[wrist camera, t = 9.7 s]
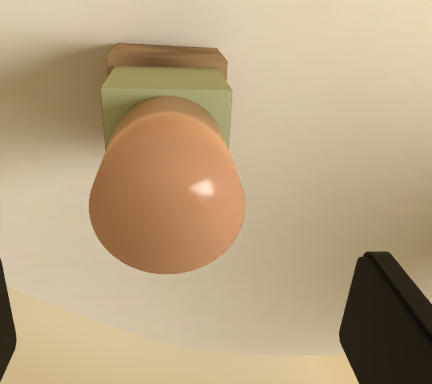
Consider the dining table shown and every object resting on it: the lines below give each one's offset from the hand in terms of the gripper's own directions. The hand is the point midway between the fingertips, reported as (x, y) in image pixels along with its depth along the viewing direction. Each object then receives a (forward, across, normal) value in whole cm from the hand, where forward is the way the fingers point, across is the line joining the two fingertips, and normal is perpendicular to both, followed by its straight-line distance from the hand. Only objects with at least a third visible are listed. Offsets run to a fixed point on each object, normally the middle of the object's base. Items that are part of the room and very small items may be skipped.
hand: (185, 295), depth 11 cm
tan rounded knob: (+10, +1, 0) cm, 11 cm away
